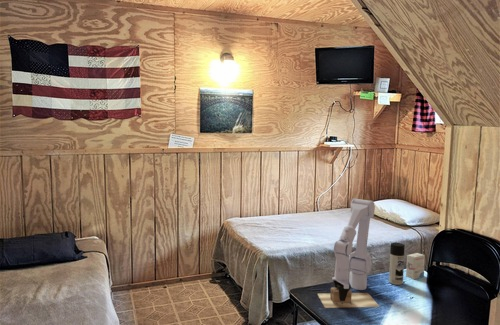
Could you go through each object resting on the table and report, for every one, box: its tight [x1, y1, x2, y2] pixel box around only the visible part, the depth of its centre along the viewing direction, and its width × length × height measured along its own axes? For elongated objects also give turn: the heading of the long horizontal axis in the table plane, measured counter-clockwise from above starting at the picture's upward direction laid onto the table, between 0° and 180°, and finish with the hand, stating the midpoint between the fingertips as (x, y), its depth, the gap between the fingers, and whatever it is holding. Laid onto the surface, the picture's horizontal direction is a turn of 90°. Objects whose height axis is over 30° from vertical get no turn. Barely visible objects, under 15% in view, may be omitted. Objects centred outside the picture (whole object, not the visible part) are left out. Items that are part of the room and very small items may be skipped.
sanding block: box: [330, 286, 353, 303], centre depth 176 cm, size 4×8×5 cm, turn 94°
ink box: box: [405, 252, 426, 280], centre depth 211 cm, size 9×5×12 cm, turn 119°
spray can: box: [388, 241, 406, 286], centre depth 201 cm, size 7×7×20 cm
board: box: [317, 292, 381, 309], centre depth 178 cm, size 14×24×2 cm, turn 94°
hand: (340, 297), depth 177 cm, fingers closed on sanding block, 4 cm apart
